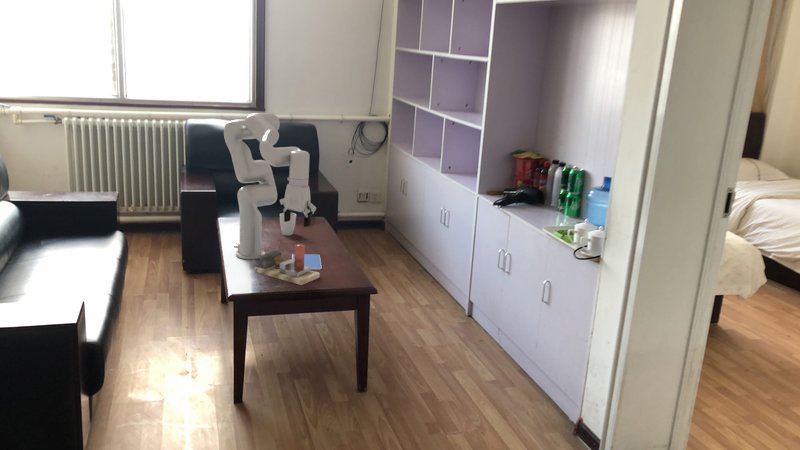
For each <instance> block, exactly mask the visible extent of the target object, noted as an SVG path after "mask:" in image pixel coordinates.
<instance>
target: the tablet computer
mask: <svg viewBox="0 0 800 450" xmlns="http://www.w3.org/2000/svg"><path fill="white" fill-rule="evenodd" d="M292 258H295V253H292V254H291V259H292ZM304 266H307V267H311V271H317V270H322V269H323V267H322V259H321V254H317V253H316V254H313V253H311V254H309V253H305V258H304Z"/></svg>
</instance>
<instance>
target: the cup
mask: <svg viewBox="0 0 800 450" xmlns="http://www.w3.org/2000/svg"><path fill="white" fill-rule="evenodd" d="M296 221H297V214H296V213H294V212H291V218H290V221H287V222H284V212H282V213H279V225H280V230H281V231H280V232H281V233H282V235H283V236H292V235H293V234H294V231H295V228H296V223H297V222H296Z"/></svg>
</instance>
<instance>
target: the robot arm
mask: <svg viewBox="0 0 800 450" xmlns="http://www.w3.org/2000/svg"><path fill="white" fill-rule="evenodd" d="M280 124H281V123H280V119H279V118H278V116H277V115H276V114H275V113H272V112H255V113H250V114H248V116H246V117H245V119H233V120H230V121H228V122H226V123H225V125H224V128H223V136H224V137H223V138H224V141H225V144H226V146H227V148H228V150H229V153H230V156H231V160H232V161H231V162H232V164H233V168H234V173H235V176H236V179H237V180H238V182H239V183H241V184H249V183H250V184H251V183H257V182H258V183H259V184H251V185H245V186H242V187H241V188H239V189H238V191H237V203H238V208H239V241H237V242H235V244H234V245H233V247H234V249H237V250H236V252H235V256H236V257H238V258H240V259H242V260H243V259H244V260H257V259H259V260H260V256H261V255H264V254H266V251H264V250H262V245H263V244H262V240H263V239H262V238H263V237H262V235H263V234H262V233H263V216H262V214H261V211H259V209H258V207H264V206H270V205H271V206H272V205H273V204H275V203H276V202H277V200H278V191H277V186H276V182H275V181H276V180H275V178H274V174H273V170H272V167H275V168H280V167H289V175H288V177H287V179H286V180H287V181H288V183H287V184H286V189H285V193H284V197H283V198H280V199H279V203H280V207H281V209H282V211H283V212H282V213H284V222H287V221H290V218H291V213H292V212H291V211H294V212H299V213H303V214H304V217H303V227H304V228H306V227H310V226H311V217H312V216H313V215H314V214H315V212H316V210H317V207H316V206H315V205H314V204H313V203H312V202H311V200H312V199H311V190H310V186H309V177H310V176H309V173H310V153H309V152H308V151H306V150H302V149H301V148H299V147H297V146H284V147H283V146H281V147H274V145H276V144H277V142H278V141H279V138H280V133H279V130H280V126H281V125H280ZM253 139H256V140H257V141H258V142H259V151H260V152H259V153H260V155H261V157H262V159H256V160H254V159H253V156H252V152H251V149H250V148H249V146H248V145H247V144H246V143H245V142H244V141H243V140H253ZM271 166H272V167H271Z"/></svg>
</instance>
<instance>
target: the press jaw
mask: <svg viewBox="0 0 800 450" xmlns="http://www.w3.org/2000/svg"><path fill="white" fill-rule="evenodd" d="M305 250H306V245H305V244H303V243H297V244H294V254H295V258H292V257H291V258H290V259H287V260H284V262H282V263H280V271H279V272H282V273H285V274H289V275H292V276H296V277H298V276H300V275H303V274H305V273H307V272H310V271H312V269H311V267H307V266H304V258H305V254H306V251H305Z"/></svg>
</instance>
